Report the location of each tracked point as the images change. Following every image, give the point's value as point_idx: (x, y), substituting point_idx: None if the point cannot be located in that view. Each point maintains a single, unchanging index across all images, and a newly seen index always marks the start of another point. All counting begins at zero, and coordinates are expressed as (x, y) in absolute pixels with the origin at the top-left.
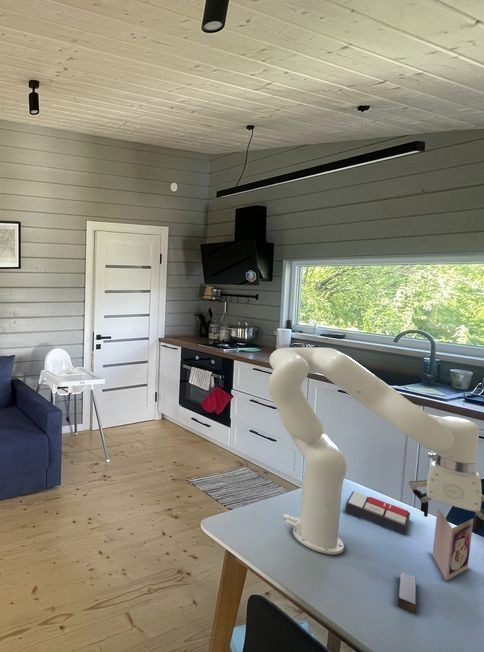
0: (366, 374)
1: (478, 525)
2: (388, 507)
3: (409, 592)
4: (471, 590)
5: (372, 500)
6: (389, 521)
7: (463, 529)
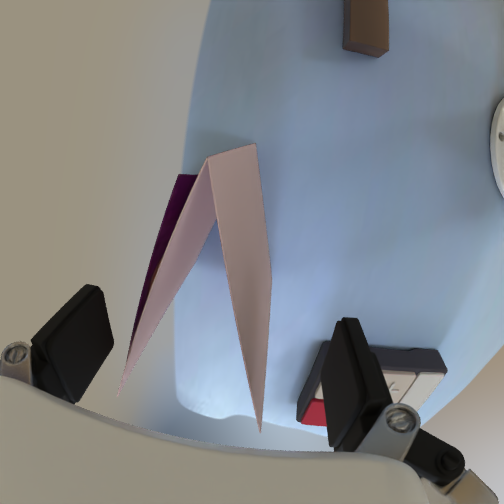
0: None
1: (63, 309)
2: None
3: None
4: (197, 139)
5: None
6: None
7: (155, 301)
